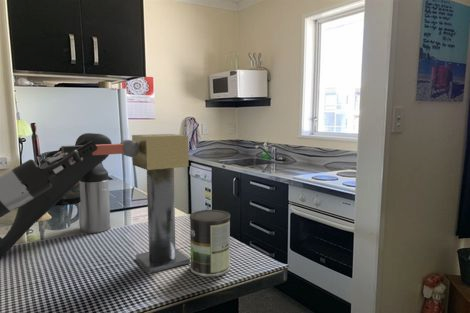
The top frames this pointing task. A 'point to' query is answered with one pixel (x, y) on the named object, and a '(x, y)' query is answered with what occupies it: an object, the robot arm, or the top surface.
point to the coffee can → (210, 242)
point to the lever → (110, 148)
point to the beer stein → (73, 193)
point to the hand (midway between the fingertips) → (91, 143)
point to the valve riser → (161, 197)
